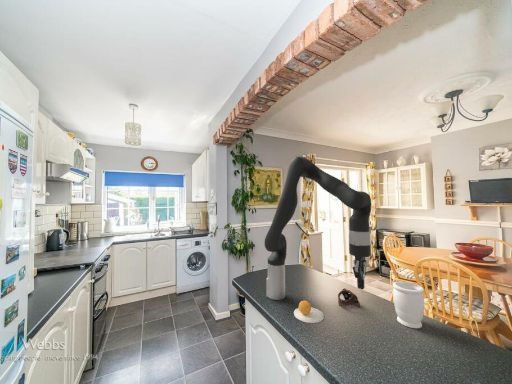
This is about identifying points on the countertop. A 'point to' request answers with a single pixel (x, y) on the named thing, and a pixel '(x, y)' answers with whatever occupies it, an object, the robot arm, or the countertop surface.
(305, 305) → the ball
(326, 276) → the countertop surface
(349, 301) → the pottery mug
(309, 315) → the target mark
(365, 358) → the countertop surface
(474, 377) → the countertop surface
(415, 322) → the jar
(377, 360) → the countertop surface
